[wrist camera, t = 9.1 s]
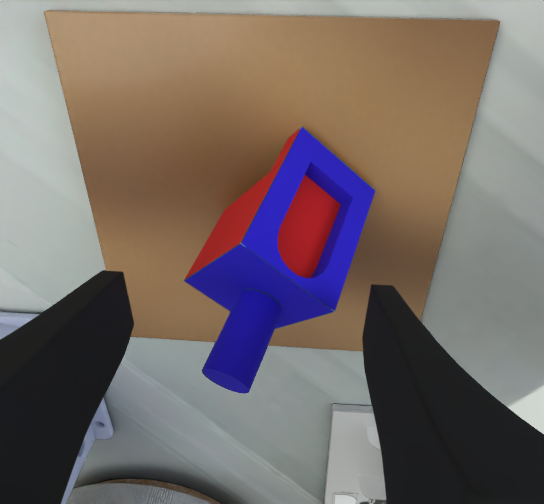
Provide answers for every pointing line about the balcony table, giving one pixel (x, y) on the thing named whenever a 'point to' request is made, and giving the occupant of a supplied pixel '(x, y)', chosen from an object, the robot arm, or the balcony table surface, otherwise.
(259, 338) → the toy building block
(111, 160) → the cork mat
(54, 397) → the robot arm
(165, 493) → the planter
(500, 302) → the balcony table surface
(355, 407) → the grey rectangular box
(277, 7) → the balcony table surface
